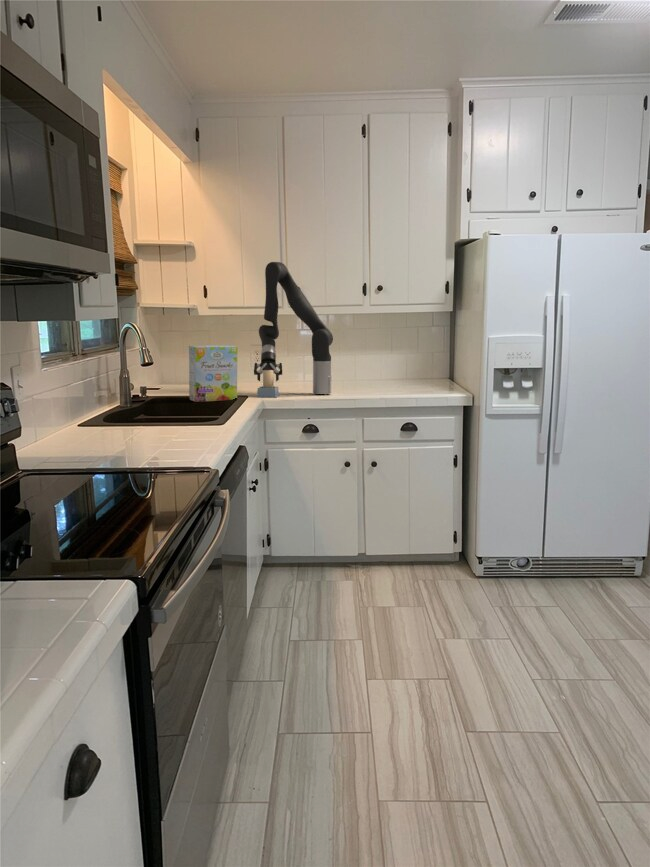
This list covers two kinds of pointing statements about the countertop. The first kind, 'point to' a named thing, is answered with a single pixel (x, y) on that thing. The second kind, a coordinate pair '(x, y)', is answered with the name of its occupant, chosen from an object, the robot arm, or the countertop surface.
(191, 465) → the countertop surface
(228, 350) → the snack box
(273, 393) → the roll holder
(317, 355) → the robot arm
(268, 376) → the paper roll
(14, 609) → the countertop surface
